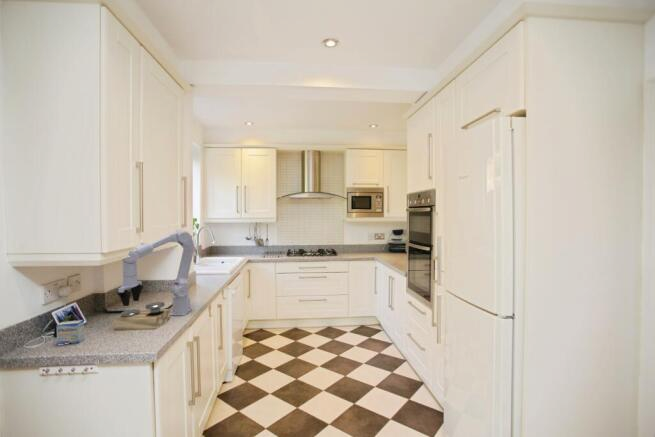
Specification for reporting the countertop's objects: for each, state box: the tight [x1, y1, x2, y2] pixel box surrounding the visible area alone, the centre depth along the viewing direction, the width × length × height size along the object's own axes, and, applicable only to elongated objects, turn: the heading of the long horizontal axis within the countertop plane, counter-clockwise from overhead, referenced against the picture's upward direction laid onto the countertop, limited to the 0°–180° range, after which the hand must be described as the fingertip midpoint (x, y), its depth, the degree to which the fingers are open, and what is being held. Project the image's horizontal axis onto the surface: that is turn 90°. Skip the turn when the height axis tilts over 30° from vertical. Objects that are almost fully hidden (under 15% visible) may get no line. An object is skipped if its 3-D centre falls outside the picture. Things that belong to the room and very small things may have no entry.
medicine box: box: [56, 319, 85, 345], centre depth 127 cm, size 8×4×9 cm, turn 106°
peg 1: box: [119, 308, 141, 317], centre depth 147 cm, size 8×8×5 cm
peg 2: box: [145, 301, 165, 315], centre depth 147 cm, size 8×8×5 cm
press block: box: [113, 308, 171, 331], centre depth 147 cm, size 13×19×5 cm
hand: (131, 303), depth 147 cm, fingers open, 7 cm apart
